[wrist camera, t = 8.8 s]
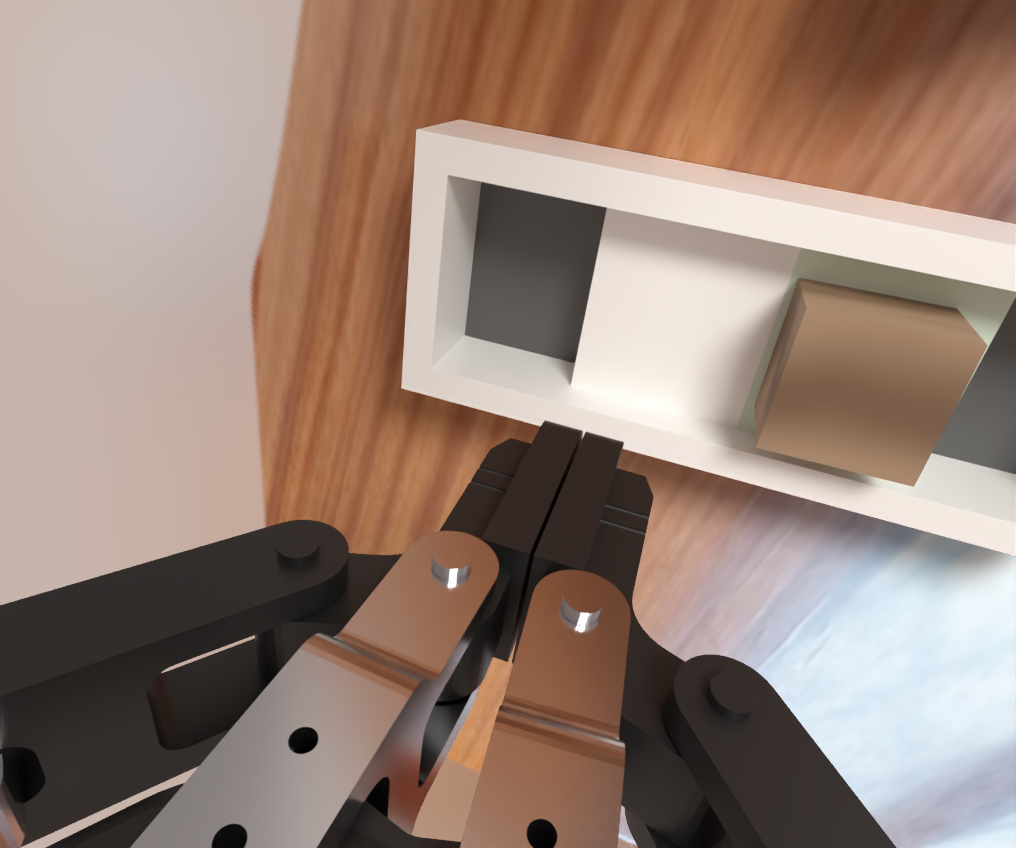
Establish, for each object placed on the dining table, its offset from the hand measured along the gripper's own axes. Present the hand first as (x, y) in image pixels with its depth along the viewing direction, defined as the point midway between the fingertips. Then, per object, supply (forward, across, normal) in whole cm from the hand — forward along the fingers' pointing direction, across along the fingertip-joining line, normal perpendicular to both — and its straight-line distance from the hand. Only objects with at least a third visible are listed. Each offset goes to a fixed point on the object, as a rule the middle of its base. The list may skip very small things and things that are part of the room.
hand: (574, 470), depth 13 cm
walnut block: (+19, -8, +4) cm, 21 cm away
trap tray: (+22, -5, +4) cm, 23 cm away
